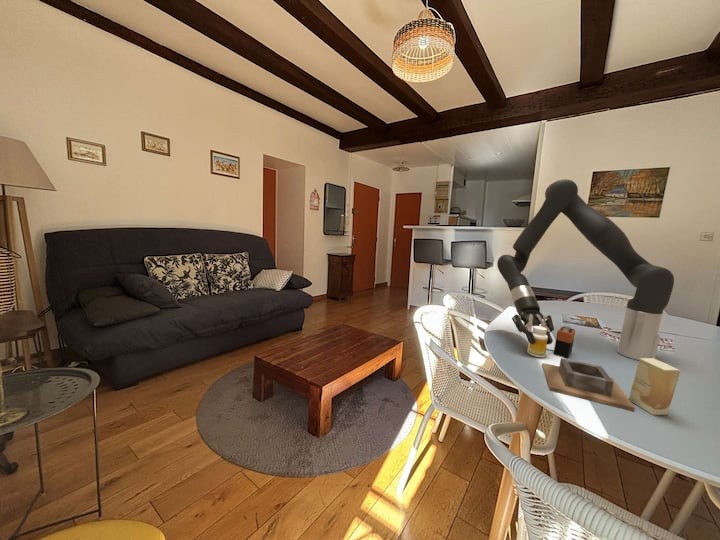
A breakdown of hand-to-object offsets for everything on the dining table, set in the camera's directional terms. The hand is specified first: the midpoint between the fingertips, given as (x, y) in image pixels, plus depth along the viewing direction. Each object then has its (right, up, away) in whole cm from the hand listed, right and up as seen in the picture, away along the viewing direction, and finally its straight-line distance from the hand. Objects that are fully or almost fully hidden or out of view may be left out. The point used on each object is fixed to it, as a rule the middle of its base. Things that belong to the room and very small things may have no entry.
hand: (541, 343), depth 99 cm
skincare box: (+12, -10, -25) cm, 29 cm away
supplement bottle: (0, -5, +3) cm, 5 cm away
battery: (+11, -5, +5) cm, 13 cm away
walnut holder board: (+2, -8, -16) cm, 18 cm away
